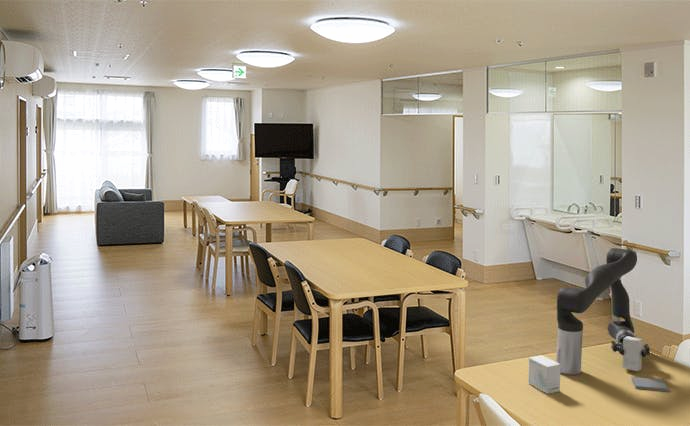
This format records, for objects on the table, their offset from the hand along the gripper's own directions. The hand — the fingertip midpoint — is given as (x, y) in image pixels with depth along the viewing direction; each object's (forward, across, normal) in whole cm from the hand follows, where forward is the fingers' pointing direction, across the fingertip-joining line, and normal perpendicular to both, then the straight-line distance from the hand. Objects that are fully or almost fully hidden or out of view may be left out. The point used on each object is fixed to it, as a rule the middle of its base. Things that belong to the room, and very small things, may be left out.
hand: (633, 354), depth 250 cm
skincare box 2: (-2, 0, +7) cm, 7 cm away
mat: (+11, +4, +8) cm, 14 cm away
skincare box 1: (+24, -34, +8) cm, 42 cm away
